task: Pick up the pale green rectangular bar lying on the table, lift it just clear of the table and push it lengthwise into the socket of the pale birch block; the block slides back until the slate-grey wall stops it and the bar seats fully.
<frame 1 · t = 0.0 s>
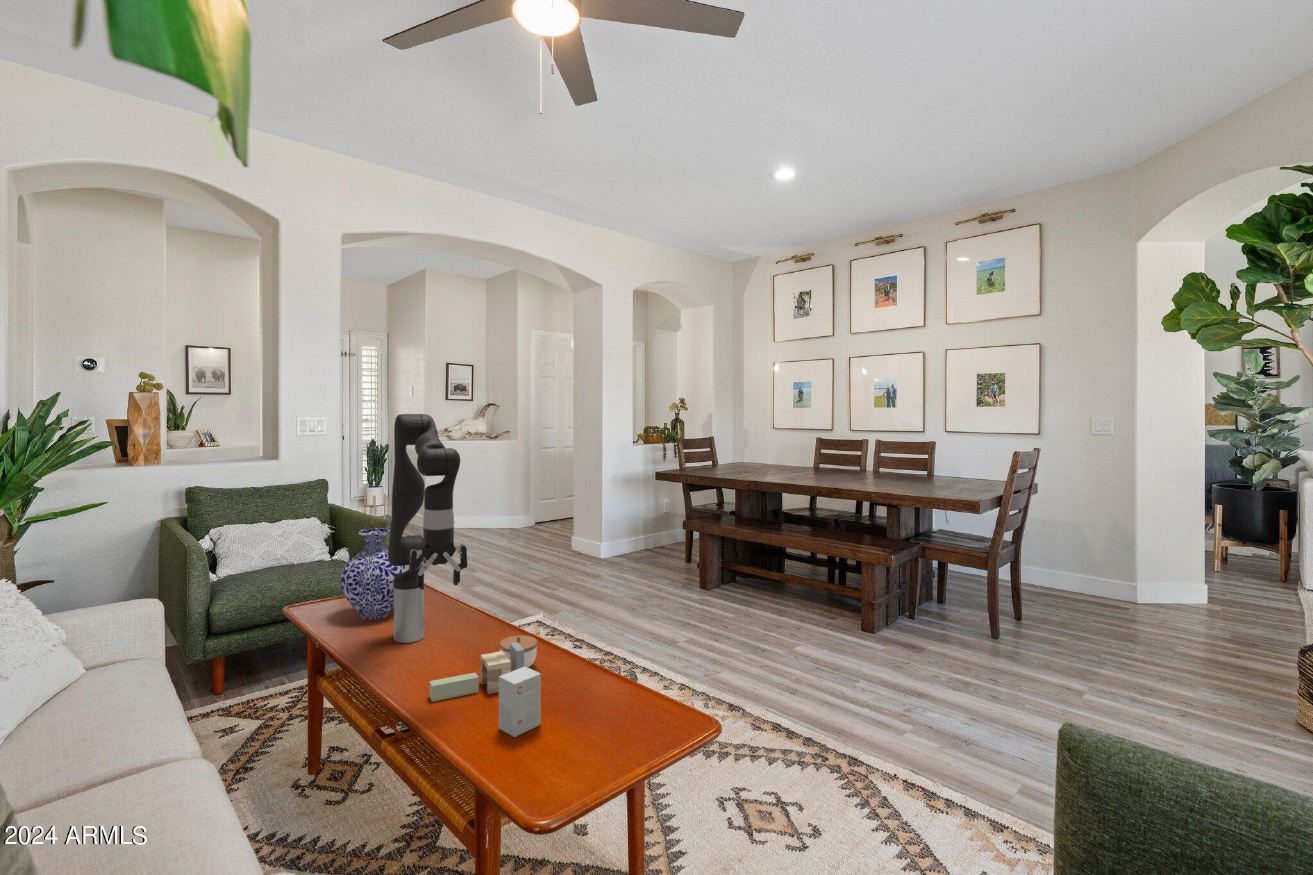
hand: (438, 586, 172), 29 cm above the table, tool pointing down, fingers open, 8 cm apart
pale green rectangular bar: (454, 695, 175), on the table
lidded jar: (518, 668, 192), on the table
block: (495, 672, 180), point 4 cm above the table, slide at 0.0 cm
small box: (519, 727, 159), on the table
wall: (516, 681, 183), on the table
vase: (374, 615, 233), on the table
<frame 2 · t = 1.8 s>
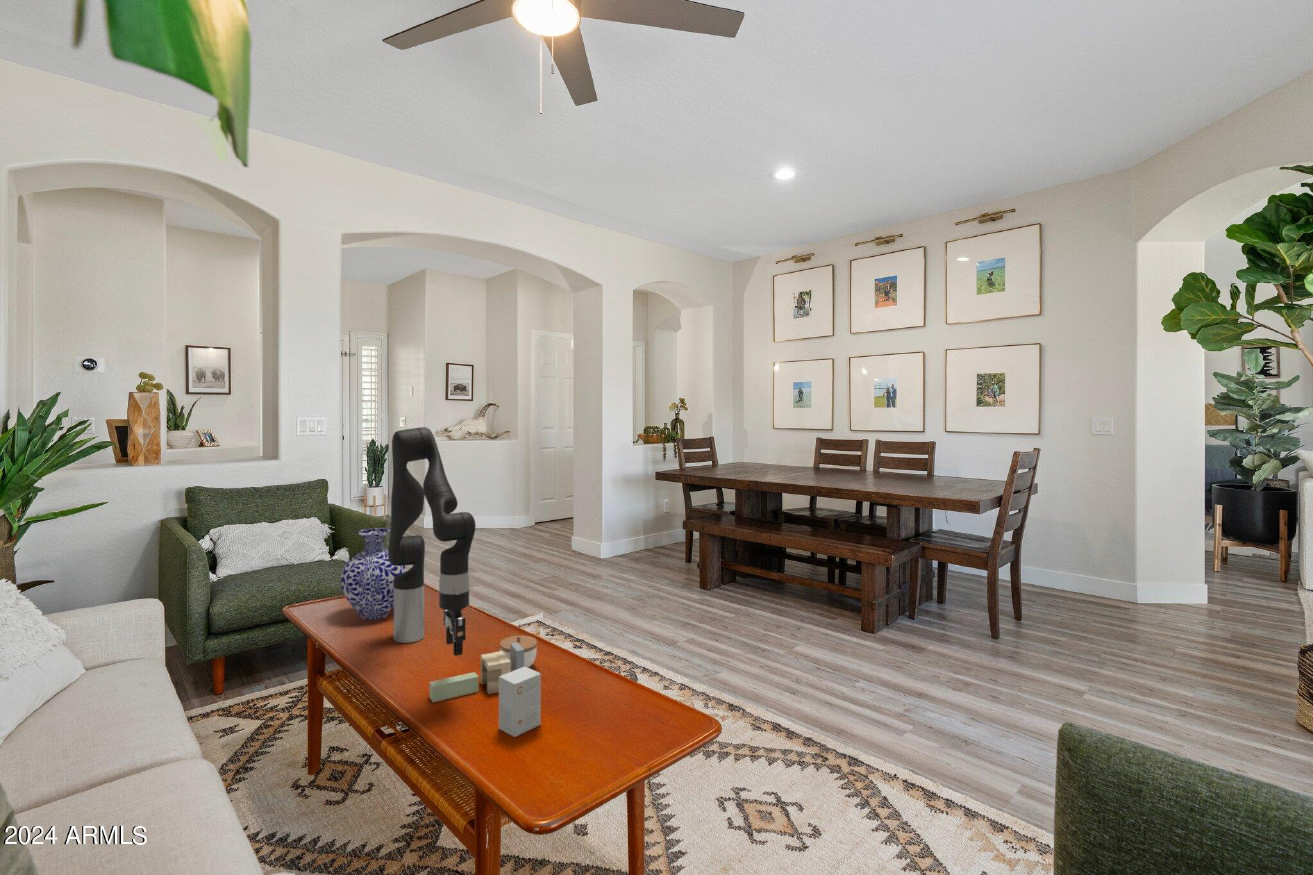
hand: (454, 649, 174), 12 cm above the table, tool pointing down, fingers open, 8 cm apart
nothing on the table moved.
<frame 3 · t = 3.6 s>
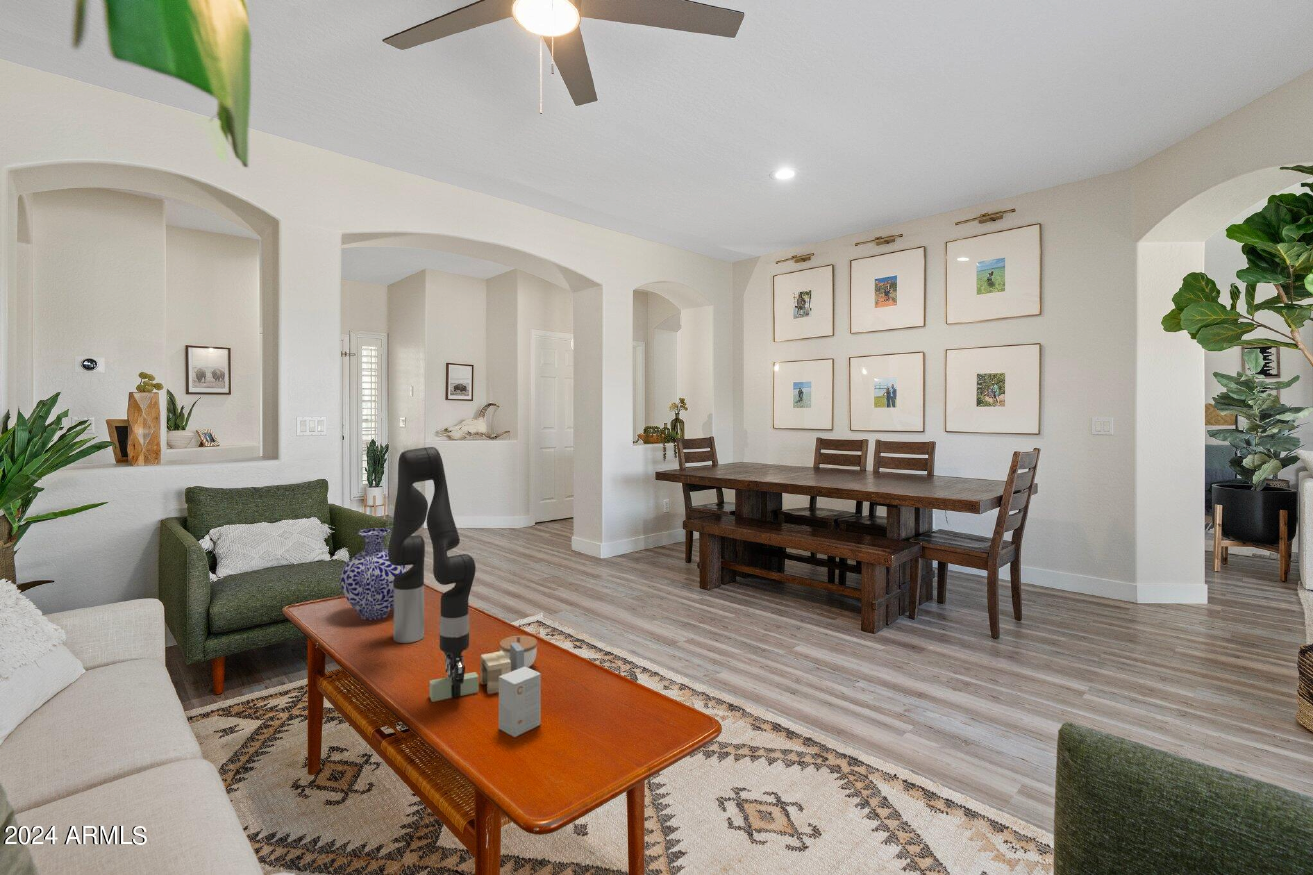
hand: (454, 693, 175), 0 cm above the table, tool pointing down, fingers closed on pale green rectangular bar, 3 cm apart
pale green rectangular bar: (454, 694, 175), on the table, touching gripper
everything else where it was.
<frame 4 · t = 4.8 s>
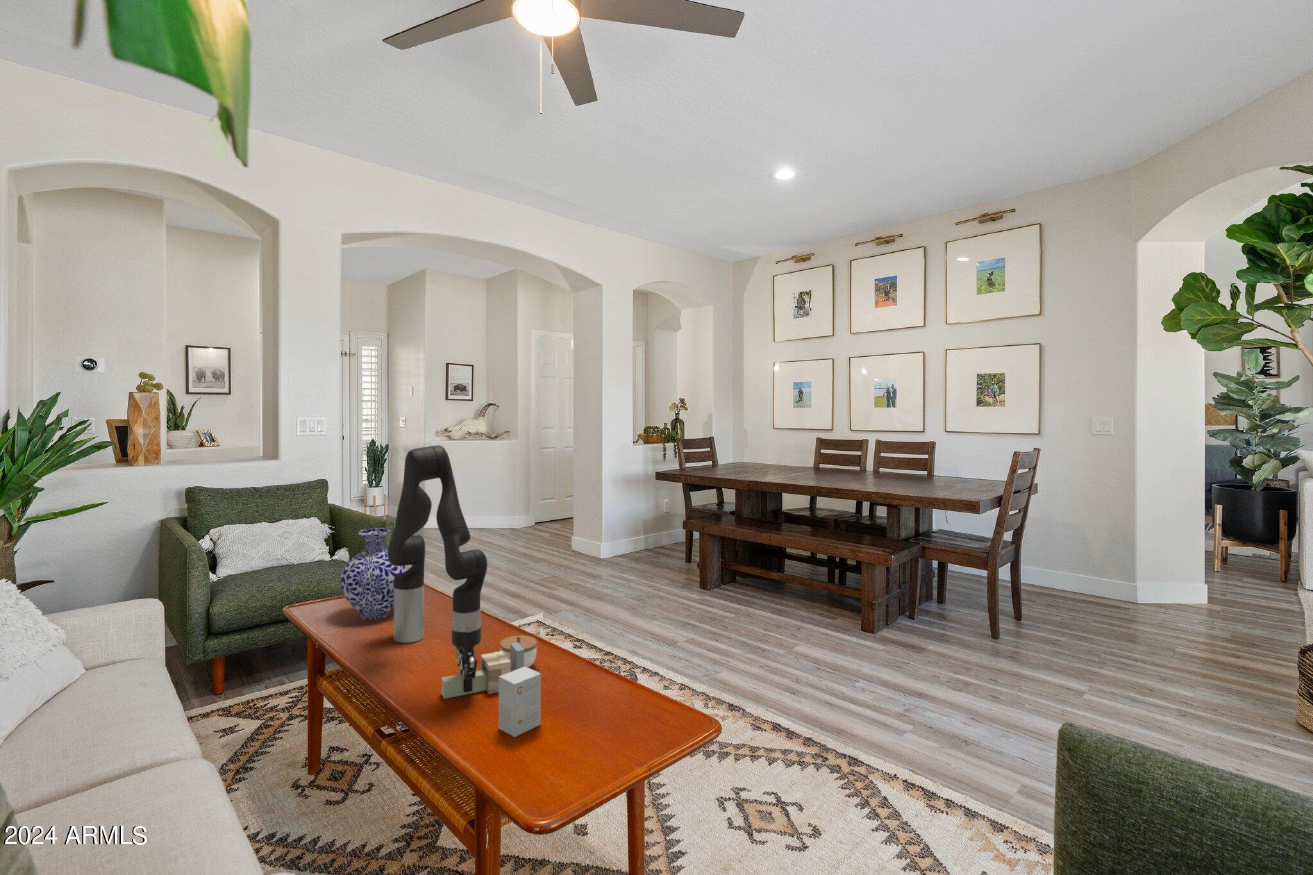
hand: (466, 688, 176), 1 cm above the table, tool pointing down, fingers closed on pale green rectangular bar, 3 cm apart
pale green rectangular bar: (465, 691, 176), on the table, touching gripper
everything else where it was.
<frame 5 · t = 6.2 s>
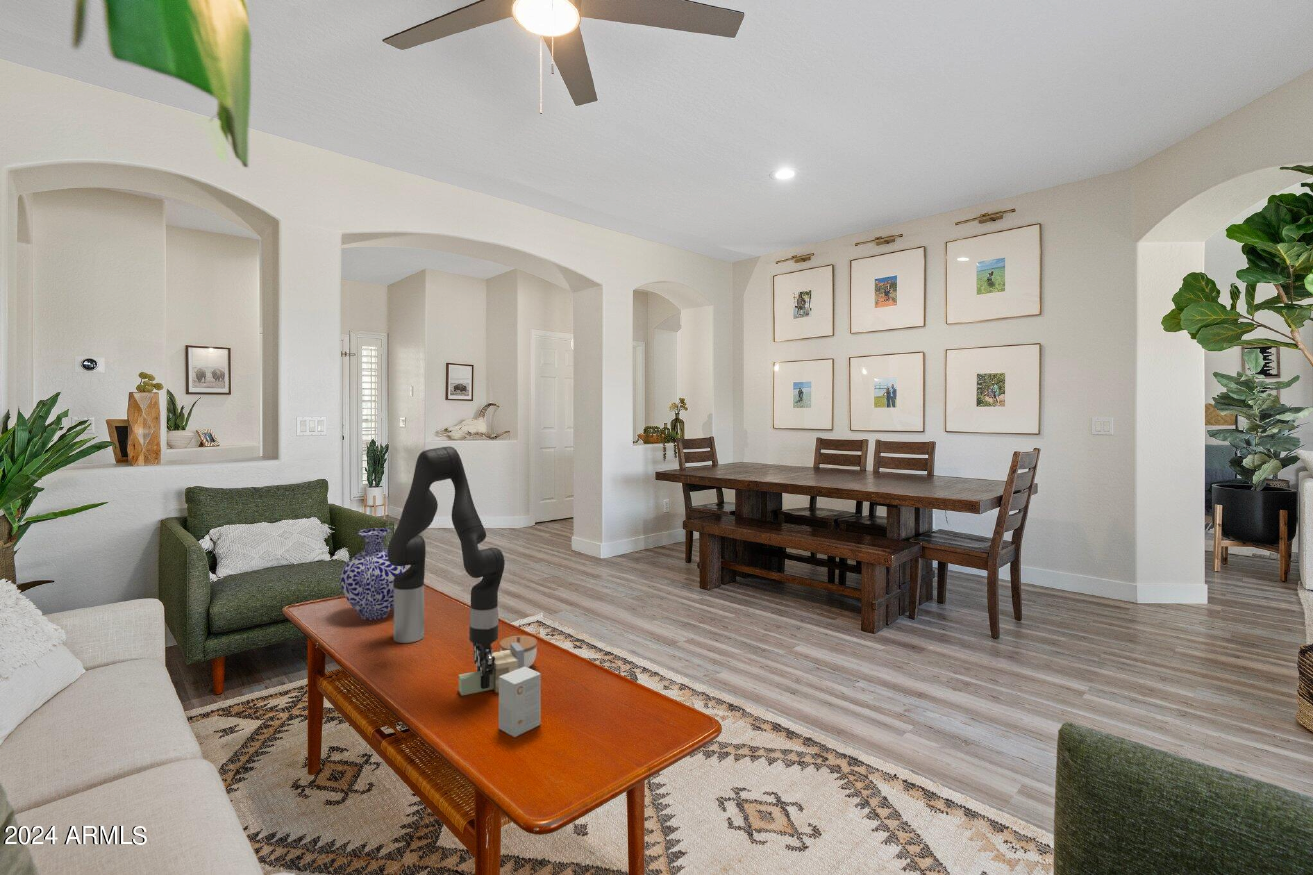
hand: (483, 684, 179), 1 cm above the table, tool pointing down, fingers closed on pale green rectangular bar, 3 cm apart
pale green rectangular bar: (482, 688, 179), on the table, touching block, gripper
block: (502, 670, 181), point 4 cm above the table, slide at 2.0 cm, touching pale green rectangular bar, wall
everything else where it was.
when the fingers open (1 cm above the table, at t = 7.5 s): pale green rectangular bar stays where it is, on the table.
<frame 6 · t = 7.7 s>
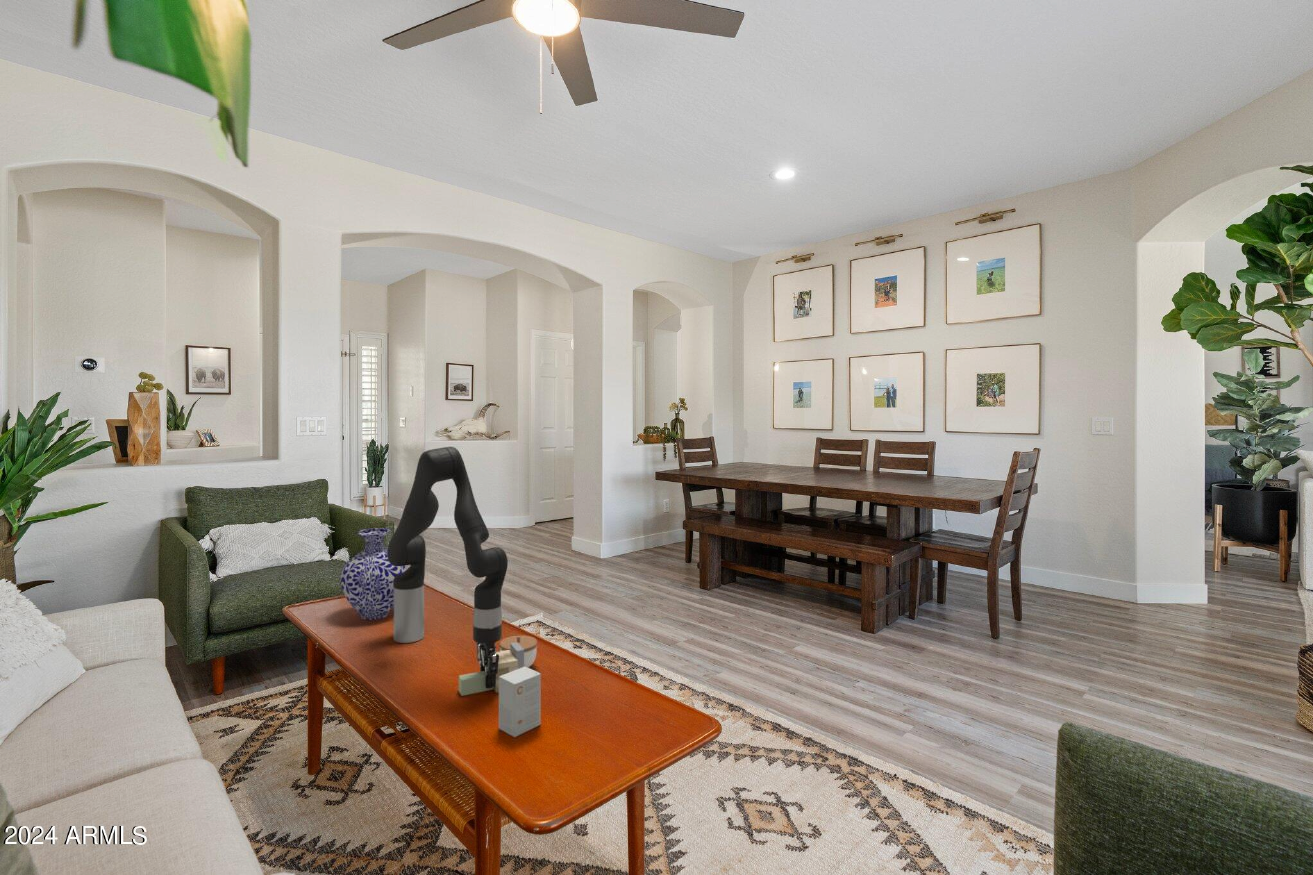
hand: (487, 683, 179), 1 cm above the table, tool pointing down, fingers open, 4 cm apart
pale green rectangular bar: (482, 689, 179), on the table
block: (502, 670, 181), point 4 cm above the table, slide at 2.0 cm, touching wall
everything else where it was.
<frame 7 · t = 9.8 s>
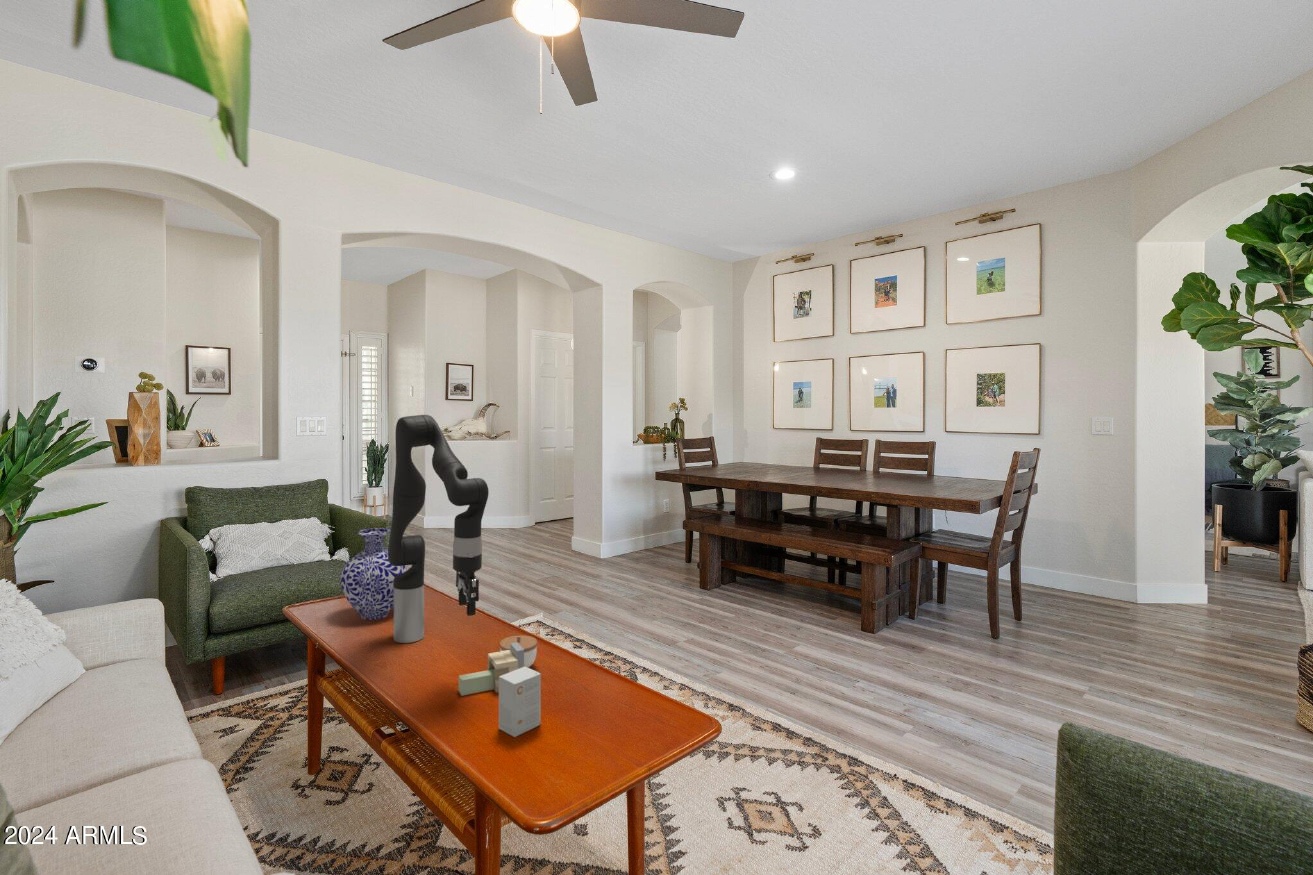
hand: (466, 609, 180), 21 cm above the table, tool pointing down, fingers open, 8 cm apart
nothing on the table moved.
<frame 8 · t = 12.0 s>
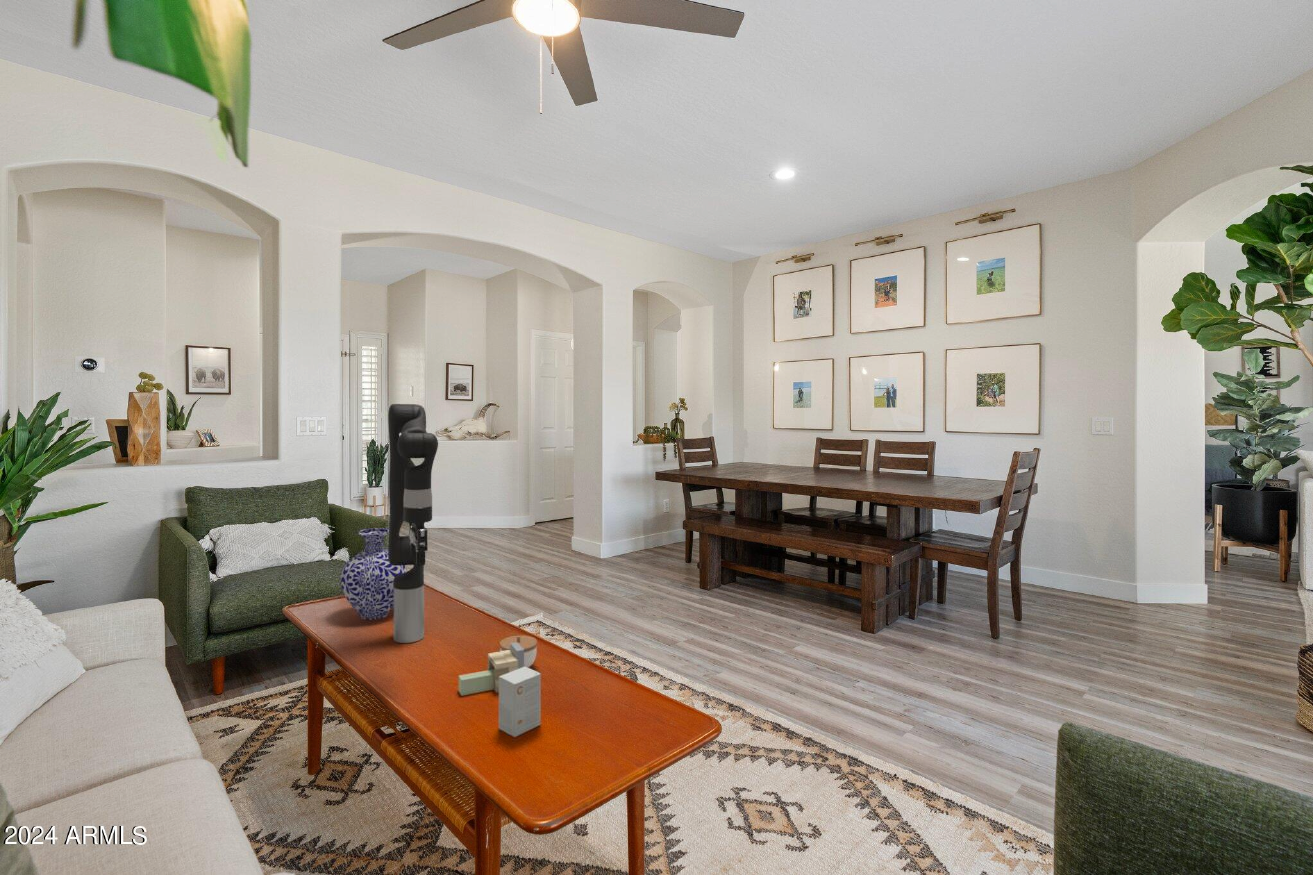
hand: (418, 561, 185), 32 cm above the table, tool pointing down, fingers open, 8 cm apart
nothing on the table moved.
at the end: block slide at 2.0 cm; pale green rectangular bar 0.3 cm from the target spot on the table beside the block, on the table; the gripper is holding nothing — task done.
